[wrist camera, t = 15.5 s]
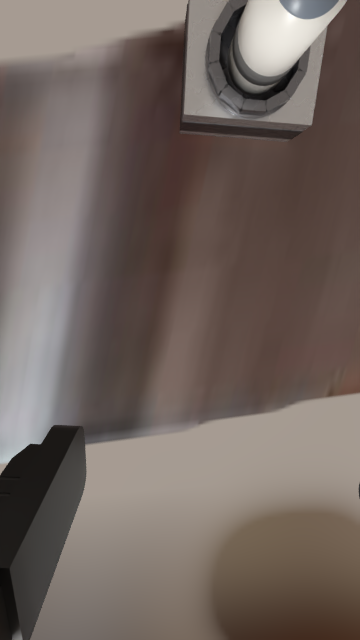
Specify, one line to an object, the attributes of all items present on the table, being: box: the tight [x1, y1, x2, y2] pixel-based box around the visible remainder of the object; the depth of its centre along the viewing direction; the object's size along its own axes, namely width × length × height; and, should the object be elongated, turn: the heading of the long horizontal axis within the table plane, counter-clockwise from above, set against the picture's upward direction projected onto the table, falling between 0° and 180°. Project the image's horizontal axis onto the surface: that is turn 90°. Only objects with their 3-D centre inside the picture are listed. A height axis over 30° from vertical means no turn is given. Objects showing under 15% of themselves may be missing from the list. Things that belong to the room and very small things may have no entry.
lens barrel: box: [227, 0, 347, 96], centre depth 22 cm, size 5×5×10 cm
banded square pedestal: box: [180, 0, 327, 142], centre depth 29 cm, size 12×9×8 cm
